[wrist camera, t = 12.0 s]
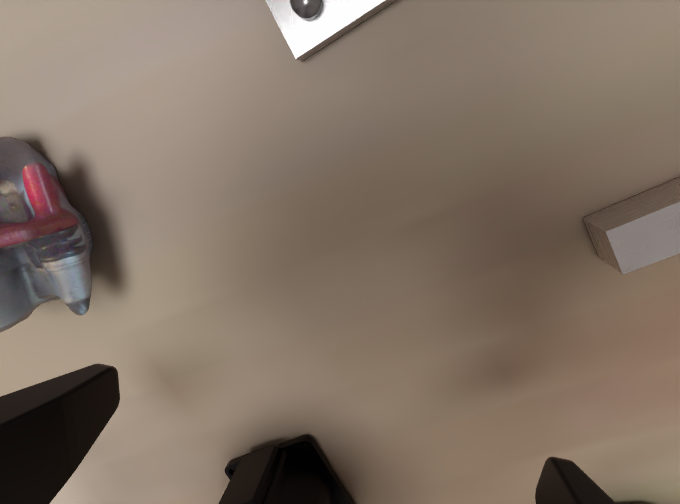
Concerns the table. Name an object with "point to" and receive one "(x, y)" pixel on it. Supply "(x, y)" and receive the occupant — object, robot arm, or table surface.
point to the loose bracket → (638, 228)
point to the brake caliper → (38, 238)
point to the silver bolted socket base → (320, 21)
